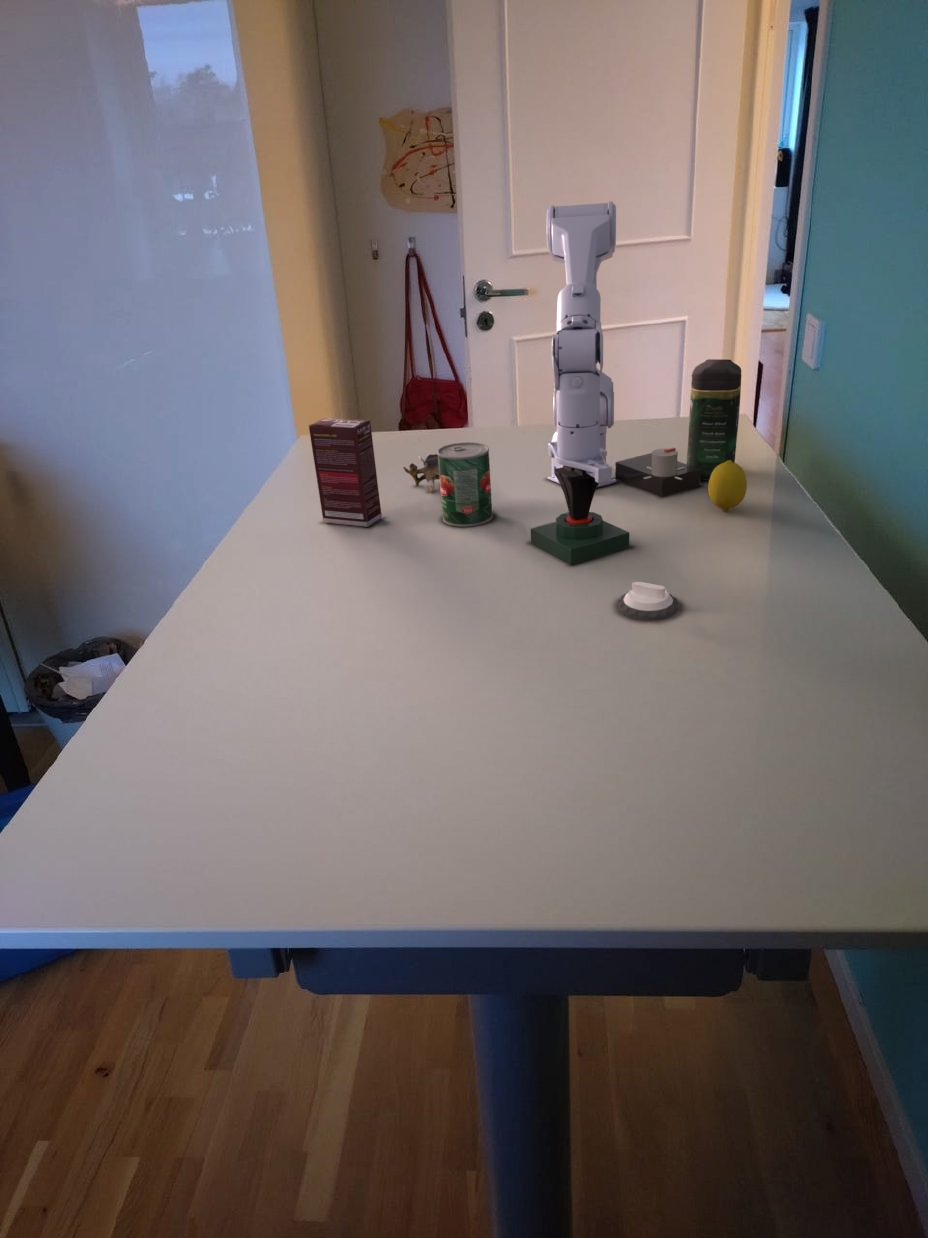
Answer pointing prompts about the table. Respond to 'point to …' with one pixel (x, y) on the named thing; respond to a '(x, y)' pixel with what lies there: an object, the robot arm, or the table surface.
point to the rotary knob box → (641, 476)
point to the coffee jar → (713, 415)
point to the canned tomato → (465, 484)
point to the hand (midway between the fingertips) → (579, 517)
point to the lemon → (727, 485)
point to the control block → (579, 539)
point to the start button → (579, 522)
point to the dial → (664, 462)
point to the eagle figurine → (426, 471)
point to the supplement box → (346, 471)
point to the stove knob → (648, 602)
